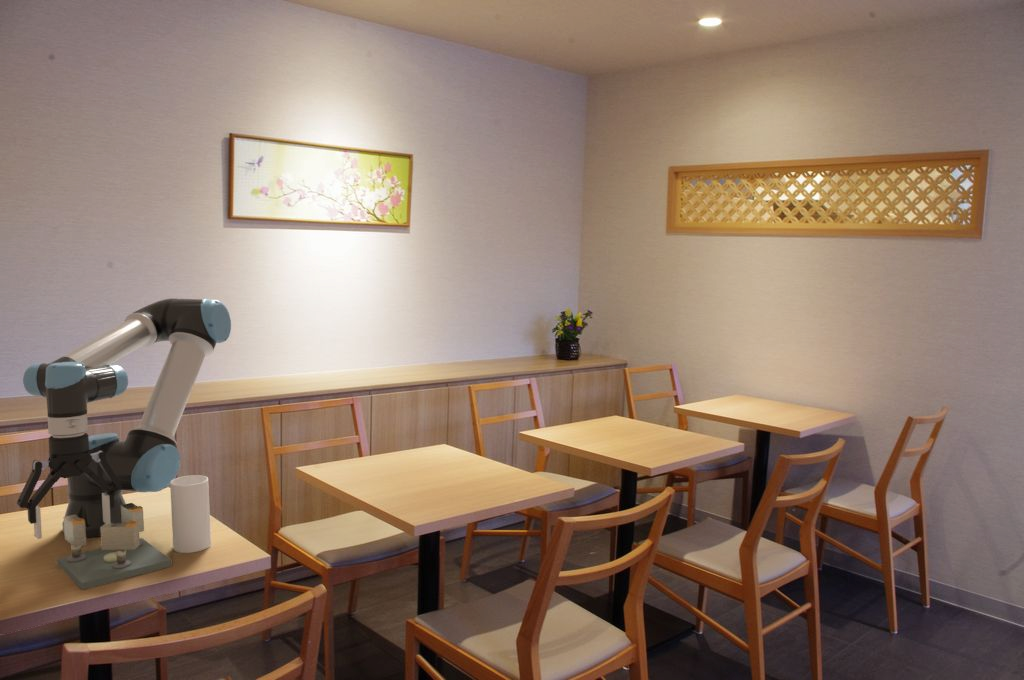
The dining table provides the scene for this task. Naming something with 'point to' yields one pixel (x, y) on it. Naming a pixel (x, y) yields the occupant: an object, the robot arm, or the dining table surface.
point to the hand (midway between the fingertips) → (73, 529)
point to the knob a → (75, 533)
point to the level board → (112, 565)
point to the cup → (190, 513)
